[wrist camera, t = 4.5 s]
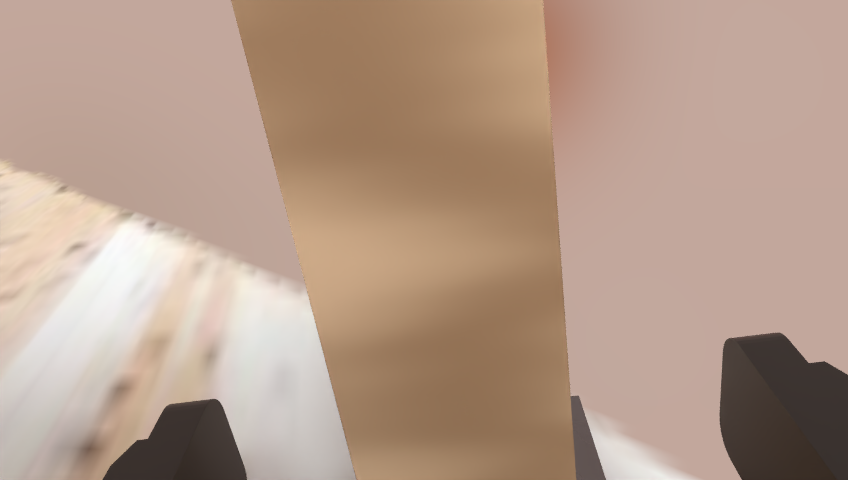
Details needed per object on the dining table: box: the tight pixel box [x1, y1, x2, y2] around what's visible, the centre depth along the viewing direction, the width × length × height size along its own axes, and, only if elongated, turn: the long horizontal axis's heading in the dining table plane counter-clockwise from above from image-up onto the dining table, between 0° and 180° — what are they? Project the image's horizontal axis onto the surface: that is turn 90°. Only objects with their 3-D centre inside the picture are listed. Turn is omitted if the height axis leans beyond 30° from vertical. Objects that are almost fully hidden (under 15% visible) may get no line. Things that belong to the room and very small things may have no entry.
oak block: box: [231, 0, 576, 480], centre depth 11 cm, size 2×6×20 cm, turn 0°
